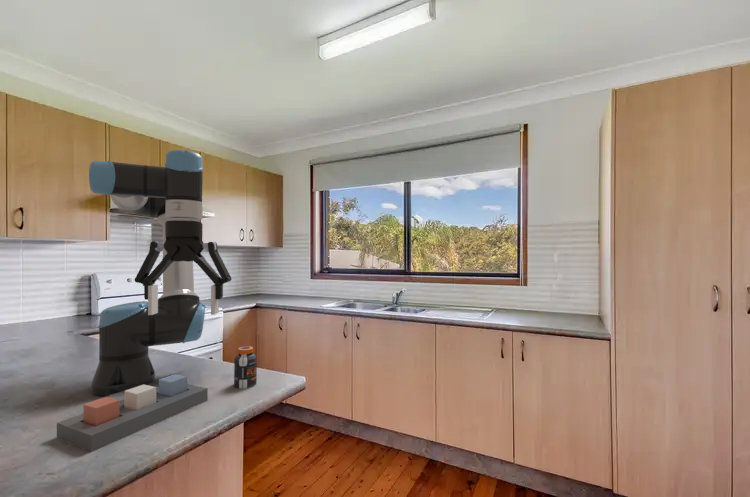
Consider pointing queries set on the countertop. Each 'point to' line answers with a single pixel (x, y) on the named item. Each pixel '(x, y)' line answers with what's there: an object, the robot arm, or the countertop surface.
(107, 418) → the key red
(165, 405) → the frame
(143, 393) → the key white
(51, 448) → the countertop surface
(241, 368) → the pill bottle
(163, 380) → the key blue
